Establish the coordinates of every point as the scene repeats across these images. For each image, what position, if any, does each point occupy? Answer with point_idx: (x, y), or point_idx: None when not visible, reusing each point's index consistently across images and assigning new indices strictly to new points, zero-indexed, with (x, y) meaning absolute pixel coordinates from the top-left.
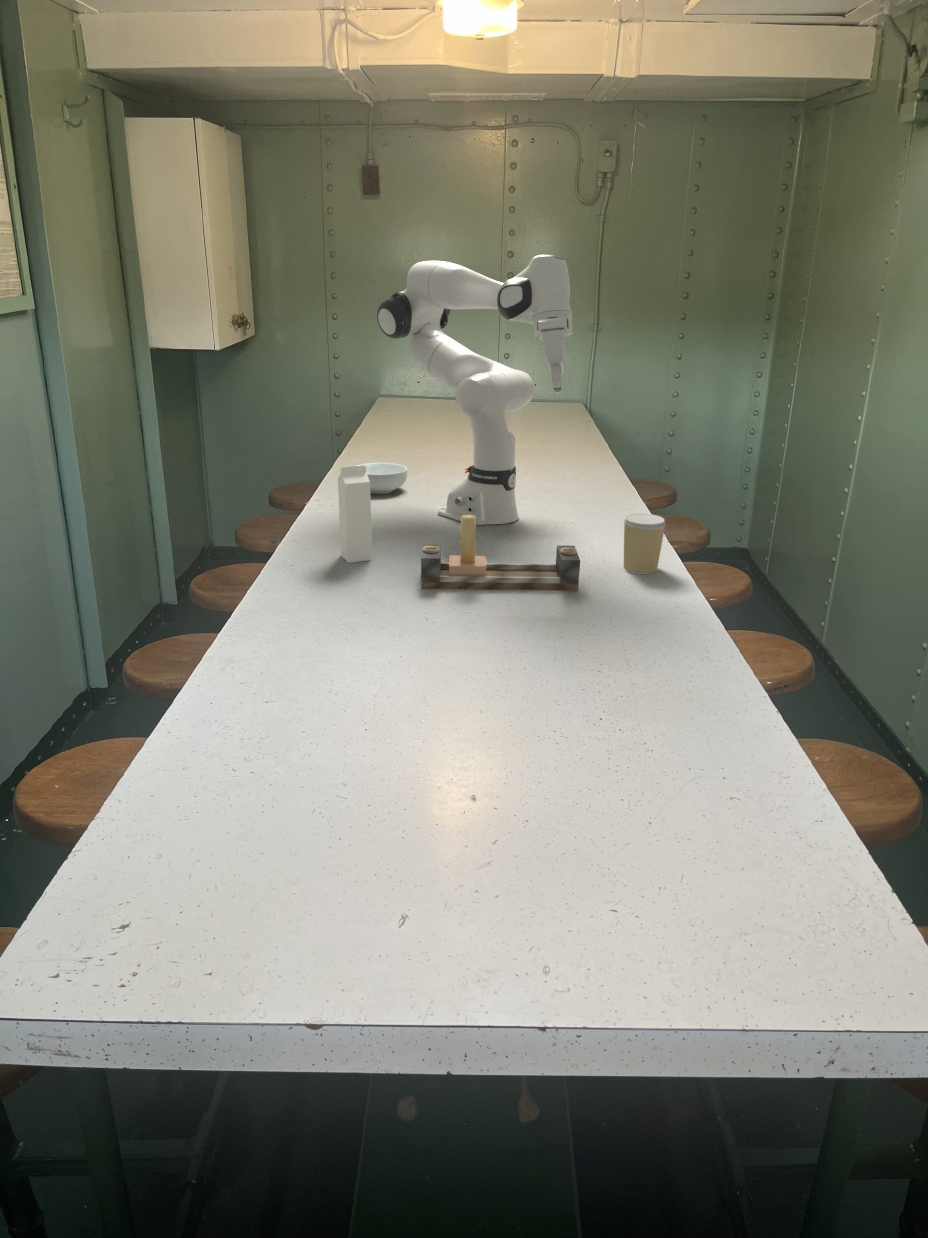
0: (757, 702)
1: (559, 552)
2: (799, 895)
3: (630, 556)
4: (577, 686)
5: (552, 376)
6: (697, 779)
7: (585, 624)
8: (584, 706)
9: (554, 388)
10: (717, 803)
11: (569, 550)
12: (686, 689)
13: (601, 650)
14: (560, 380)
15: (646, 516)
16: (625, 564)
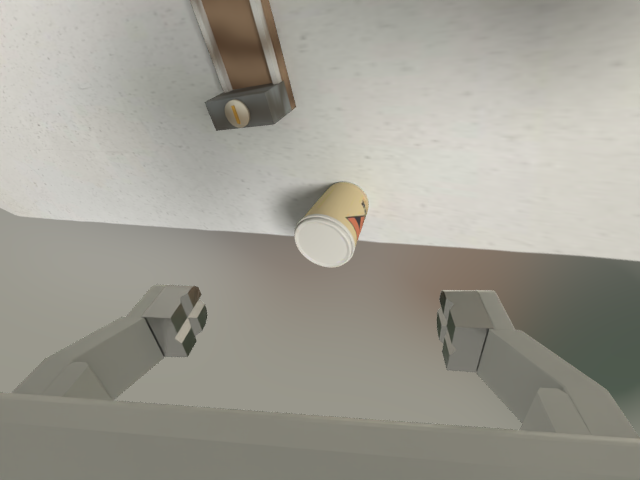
0: (122, 221)
1: (233, 98)
2: (7, 190)
3: (320, 197)
4: (59, 109)
5: (105, 328)
6: (34, 171)
7: (159, 120)
8: (42, 114)
9: (453, 308)
10: (26, 176)
11: (235, 116)
12: (109, 186)
13: (121, 132)
14: (508, 403)
15: (338, 249)
16: (333, 185)
